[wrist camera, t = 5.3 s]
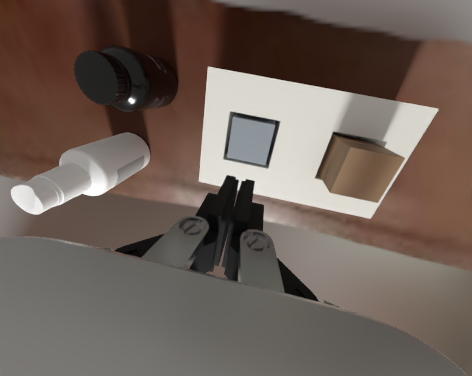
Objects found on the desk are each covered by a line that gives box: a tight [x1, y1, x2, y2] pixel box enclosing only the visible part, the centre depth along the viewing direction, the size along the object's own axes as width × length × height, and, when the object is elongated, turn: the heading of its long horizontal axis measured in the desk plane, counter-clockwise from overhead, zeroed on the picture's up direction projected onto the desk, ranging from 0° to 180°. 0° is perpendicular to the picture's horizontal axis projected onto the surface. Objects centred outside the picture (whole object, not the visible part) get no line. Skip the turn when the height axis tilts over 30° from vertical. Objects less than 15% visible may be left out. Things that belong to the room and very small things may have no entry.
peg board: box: [199, 67, 439, 219], centre depth 27 cm, size 24×14×8 cm, turn 82°
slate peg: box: [227, 113, 275, 165], centre depth 26 cm, size 5×5×6 cm
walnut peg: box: [317, 133, 405, 203], centre depth 22 cm, size 5×5×6 cm
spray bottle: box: [11, 132, 150, 214], centre depth 28 cm, size 7×7×18 cm
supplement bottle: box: [74, 45, 177, 112], centre depth 24 cm, size 7×7×12 cm
